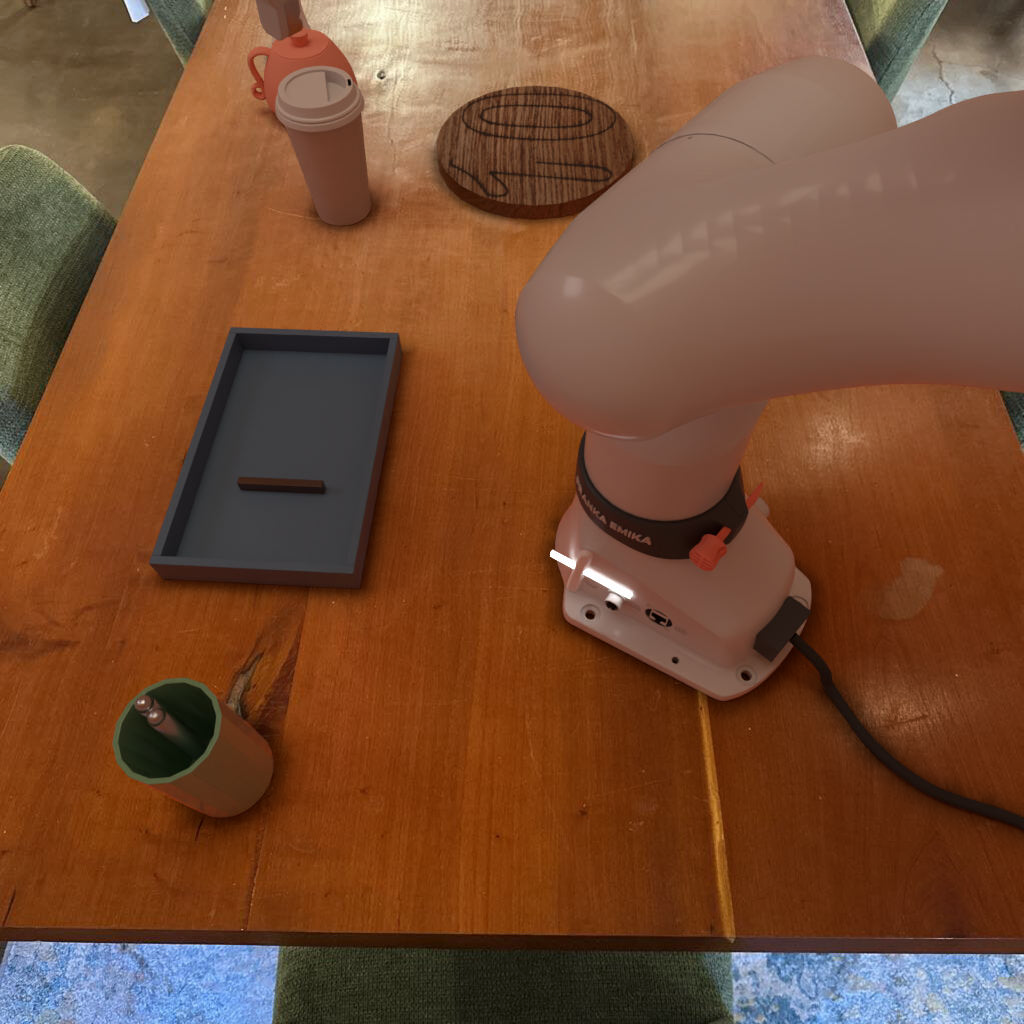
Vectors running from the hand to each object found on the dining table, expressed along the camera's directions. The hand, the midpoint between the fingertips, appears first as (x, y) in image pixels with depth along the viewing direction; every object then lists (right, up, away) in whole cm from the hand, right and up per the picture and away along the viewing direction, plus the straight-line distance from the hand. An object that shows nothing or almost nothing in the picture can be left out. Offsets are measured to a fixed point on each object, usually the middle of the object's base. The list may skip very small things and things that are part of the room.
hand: (349, 1), depth 43 cm
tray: (-12, -23, +31) cm, 41 cm away
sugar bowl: (-18, +26, +61) cm, 69 cm away
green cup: (-13, -49, +16) cm, 53 cm away
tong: (-13, -48, +16) cm, 52 cm away
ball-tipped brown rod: (-12, -49, +15) cm, 53 cm away
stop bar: (-12, -27, +28) cm, 41 cm away
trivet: (+12, +17, +55) cm, 59 cm away
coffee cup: (-11, +8, +50) cm, 52 cm away
